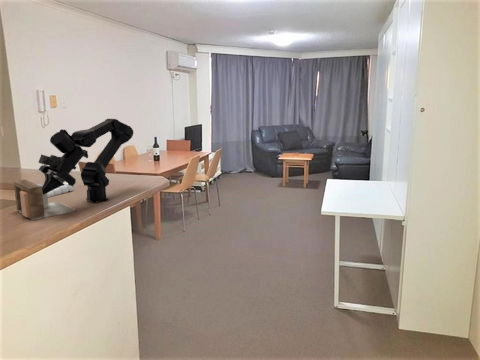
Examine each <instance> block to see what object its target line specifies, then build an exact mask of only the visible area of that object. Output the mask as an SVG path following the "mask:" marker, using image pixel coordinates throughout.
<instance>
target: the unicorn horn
mask: <svg viewBox="0 0 480 360" xmlns="http://www.w3.org/2000/svg"><path fill="white" fill-rule="evenodd" d="M63 184H64V186H60V187H58V188H56V189H54V190H52V191H50V192H48V193H47V196H48V198H50V197H51V198H52V197H54V196H59V195H61V194H62V193H63V194H65V193H68V191H70V192H73V191H74V190H75V184H74V185H73V187H72V186H70V185H68V183H67V182H66V181H64V183H63Z"/></svg>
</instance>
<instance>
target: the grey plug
mask: <svg viewBox="0 0 480 360" xmlns="http://www.w3.org/2000/svg"><path fill="white" fill-rule="evenodd" d="M36 184H37V185H39V186H42V187H43V185H44V183H36ZM43 202H44V208H47V207H49V206H48V204H49V197H48V196H47V193H46V194H44V195H43Z"/></svg>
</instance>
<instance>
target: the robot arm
mask: <svg viewBox="0 0 480 360" xmlns="http://www.w3.org/2000/svg"><path fill="white" fill-rule="evenodd" d="M108 133H110V137H111V138H110V139H109V141H108V143H107V144H106V145H105V146H104V148H103V150H101V152H100V153H99V155H98V156H97V157H96V158H95V160H94V161H87V162H86V163H85V165H84V167H82V169H81V171H80V172H81V173H80V178H81V181H82V182H83V186H86V187H87V189H86V201H89V202H91V203H99V202H105V201H108V200H109V198H108V197H107V192H106V191H107V190H106V189H107V186H109V185H110V179H109V178H108V177H107V176H106V174H107V173H106V170H107V169H106V168H107V166H108V165H109V164H110V162H111V161H112V159H113V157H114V156H115V154H116V153H117V152H118V150H119V149H120V148H121V147H122V145H124V144H125V143H128V142H129V141H130V140H131V139H132V138H133V135H134V129H133V127H131V126H130V125H128V124H126V123H124V122H122V121H120V120H119V119H117V118H106V119H105V120H103V121H102V122H100V123H98V124H96V125H94V126H92V127H90V128H88V129H87V128H86V129H80V130H76V131H74V132H73V133H72V134H70V133H69V132H68V131H67V129H60V130H59V131H58V132H55V133H54V134H53V135H51V136H50V140H49V142H50V144H51V145H52V146H53V147H55V148H56V149H57V150H58V151H59V152H60V153H62V154H63V155H61V156H57V155H55V154H51V155H50V156H48V155H44V154H41V155H40V157H39V160H38V163H39V164H41V165H40V166H39V168H38V171H40V172H41V173H43V174H44V177H45V179H44V182H43V184H44V185H43V187H42V192H43V195H44V194H46V193H48V192H50V191H52V190H54V189H56V188H58V187H60V186H64V184H63V183H65V182H67V183H68V185H70V186H72V187H73V185H74V186H75V184H76V183H77V181H76V178H75V177H73V176H72V175H71V172H72V171H73V170H74V171H75V170H76V169H77V164H78V163H79V162H80V161H81V159H82V158H83V157H84V158H86V159H88V158H89V154H88V152H89V151H88V150H86V149H83V148H91V147H92V146H93V145H95V143H96V142H97V140H98V139H99V138H100V137H102V136H103V135H104V136H105V135H106V134H108Z"/></svg>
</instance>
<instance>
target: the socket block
mask: <svg viewBox="0 0 480 360" xmlns="http://www.w3.org/2000/svg"><path fill="white" fill-rule="evenodd" d="M37 184H38V183H34V182H32V181H30V180H28V179H19V180H13V188H14V196H15V204H16V205H15V207H16V212H18V211H19V212H18V213H20V214H21V213H22V207H21V198H20V191H27V192H28V196H29V205H30V214H31V217H27V218H28V219H30V220H32V221H35V220H36V221H37V220H40V219H45V218H49V217H54V216H59V215H62V214H67V213H72V212H76V209H74V208H72V207H70V206H68V205H66V204H64V203H62V202H60V201H55V202H54V201H53V202H48V206H49V207H47V208H44V205H43V195H42V186H39V185H37ZM44 211H45V214H44Z"/></svg>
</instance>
